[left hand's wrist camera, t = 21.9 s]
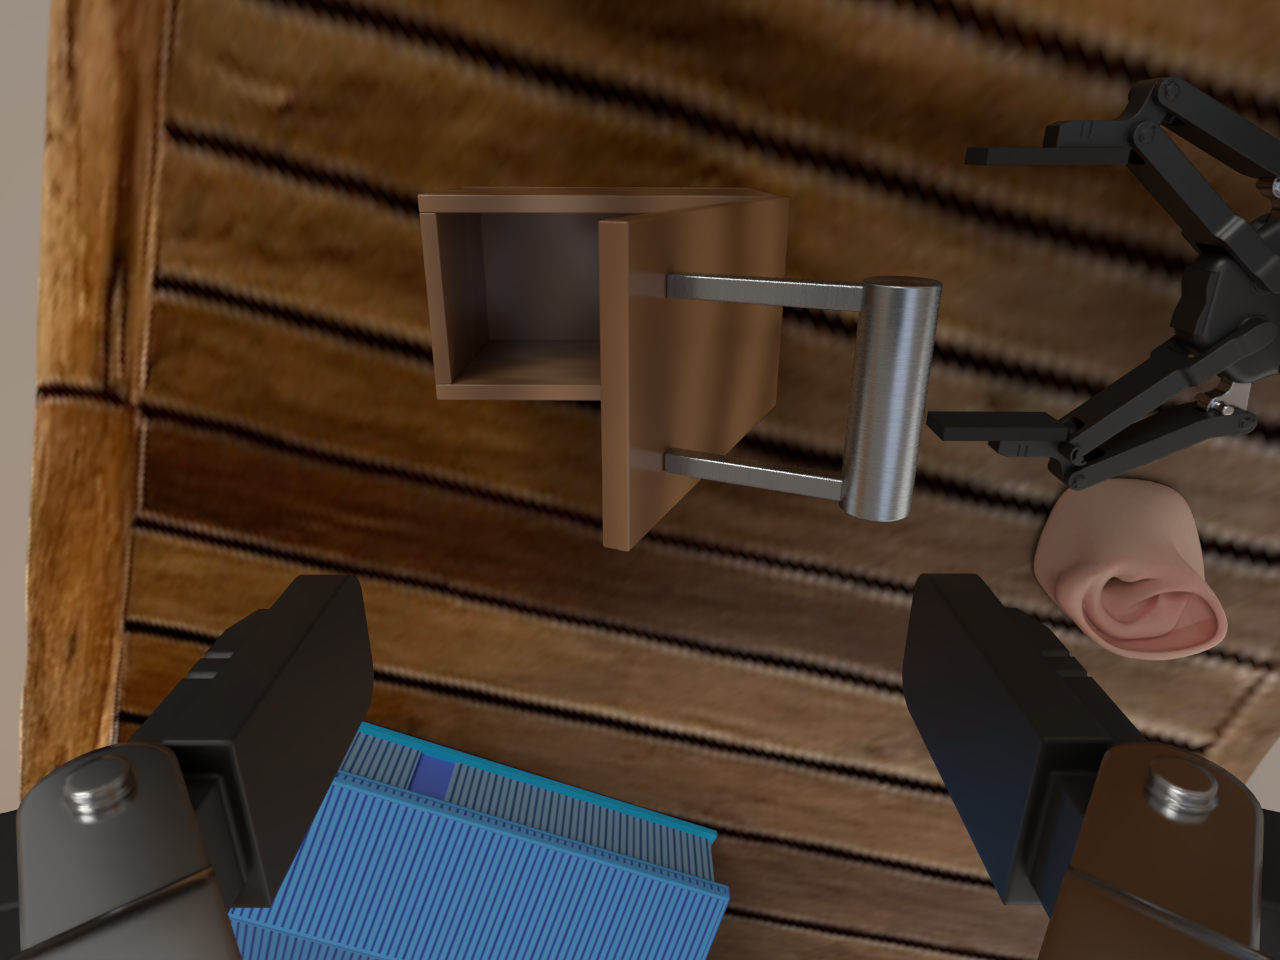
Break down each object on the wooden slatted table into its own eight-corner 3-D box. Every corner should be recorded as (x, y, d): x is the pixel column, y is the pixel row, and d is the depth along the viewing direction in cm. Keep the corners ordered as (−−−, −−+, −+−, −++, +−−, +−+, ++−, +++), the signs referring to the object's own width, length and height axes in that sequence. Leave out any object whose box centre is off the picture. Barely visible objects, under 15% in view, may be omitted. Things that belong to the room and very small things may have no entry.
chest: (479, 349, 50) (436, 400, 39) (467, 186, 46) (416, 194, 36) (739, 350, 50) (765, 401, 39) (748, 187, 46) (779, 195, 36)
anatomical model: (1055, 517, 49) (1247, 475, 48) (1027, 492, 53) (1204, 453, 52) (1066, 689, 54) (1241, 654, 53) (1039, 655, 58) (1201, 621, 57)
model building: (181, 901, 67) (107, 1020, 58) (237, 677, 58) (161, 774, 49) (612, 1017, 72) (608, 1142, 63) (721, 827, 64) (735, 940, 55)
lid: (602, 547, 24) (889, 607, 21) (596, 220, 21) (941, 232, 18) (758, 403, 39) (942, 425, 36) (771, 196, 35) (976, 200, 32)
